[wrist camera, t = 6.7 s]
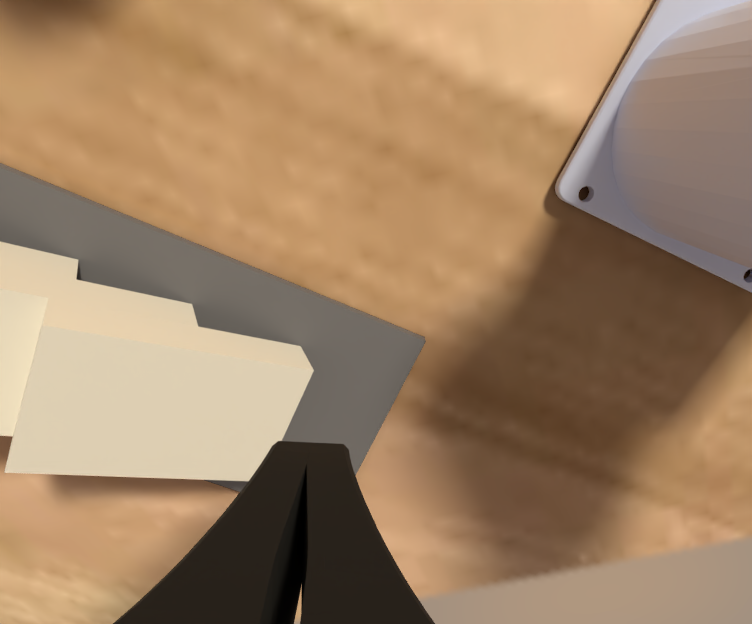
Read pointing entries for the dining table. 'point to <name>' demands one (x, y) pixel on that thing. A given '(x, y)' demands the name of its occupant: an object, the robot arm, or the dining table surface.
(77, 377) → the domino
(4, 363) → the domino
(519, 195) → the dining table surface
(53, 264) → the domino
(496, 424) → the dining table surface
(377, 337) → the runner mat
